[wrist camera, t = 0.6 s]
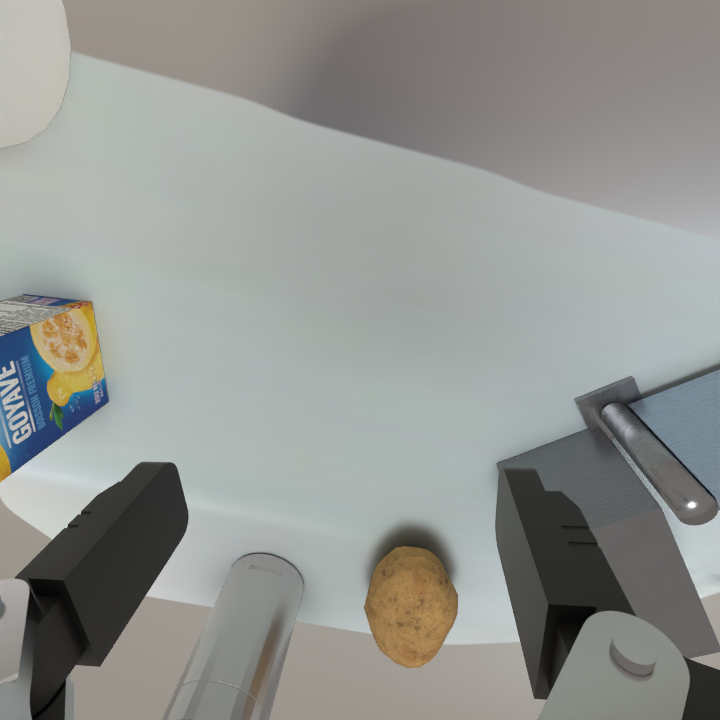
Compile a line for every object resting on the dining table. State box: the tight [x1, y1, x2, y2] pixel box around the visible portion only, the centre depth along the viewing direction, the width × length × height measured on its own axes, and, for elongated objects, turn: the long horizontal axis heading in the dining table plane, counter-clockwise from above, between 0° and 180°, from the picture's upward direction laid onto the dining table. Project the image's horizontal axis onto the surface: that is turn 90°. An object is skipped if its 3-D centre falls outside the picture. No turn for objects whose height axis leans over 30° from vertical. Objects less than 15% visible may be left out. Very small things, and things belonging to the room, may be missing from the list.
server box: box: [497, 376, 720, 659], centre depth 38 cm, size 20×14×11 cm
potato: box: [364, 546, 458, 668], centre depth 46 cm, size 10×14×8 cm
